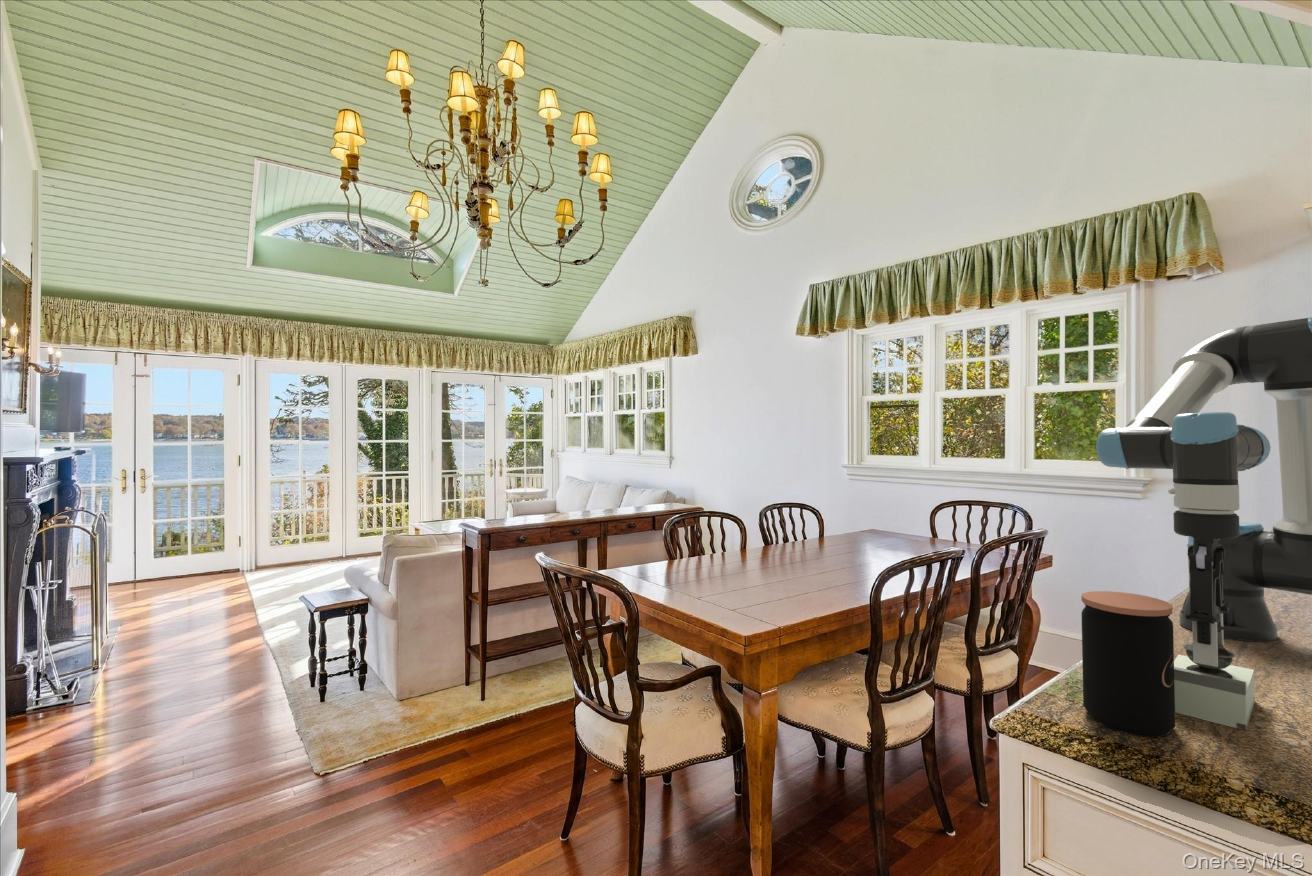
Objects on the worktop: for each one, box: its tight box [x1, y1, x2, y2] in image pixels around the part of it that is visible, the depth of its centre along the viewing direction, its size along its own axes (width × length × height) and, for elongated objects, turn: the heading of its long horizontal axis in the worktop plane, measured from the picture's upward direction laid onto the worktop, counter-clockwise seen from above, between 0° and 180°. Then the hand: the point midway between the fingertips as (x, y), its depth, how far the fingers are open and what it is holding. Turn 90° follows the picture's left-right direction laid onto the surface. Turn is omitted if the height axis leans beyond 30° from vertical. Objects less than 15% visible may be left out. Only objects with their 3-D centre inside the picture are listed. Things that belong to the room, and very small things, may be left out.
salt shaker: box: [1183, 604, 1236, 679], centre depth 91 cm, size 6×6×12 cm
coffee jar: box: [1080, 590, 1176, 738], centre depth 87 cm, size 11×11×18 cm
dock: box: [1174, 654, 1256, 732], centre depth 91 cm, size 14×9×7 cm, turn 131°
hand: (1208, 657), depth 91 cm, fingers open, 6 cm apart
